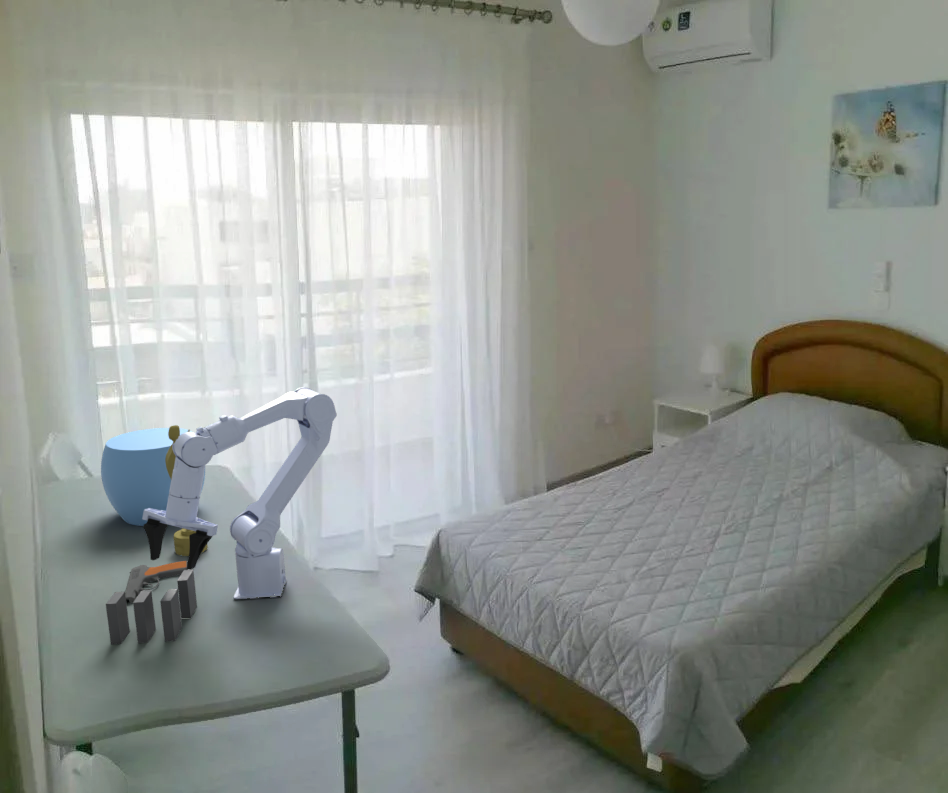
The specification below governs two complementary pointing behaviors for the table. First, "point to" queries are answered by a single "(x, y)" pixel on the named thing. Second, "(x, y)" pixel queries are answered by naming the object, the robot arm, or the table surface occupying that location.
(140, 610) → the domino
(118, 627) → the domino end
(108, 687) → the table surface
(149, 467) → the planter
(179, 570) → the handgun
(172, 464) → the sculpture
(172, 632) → the domino
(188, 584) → the domino
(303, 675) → the table surface
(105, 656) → the table surface
